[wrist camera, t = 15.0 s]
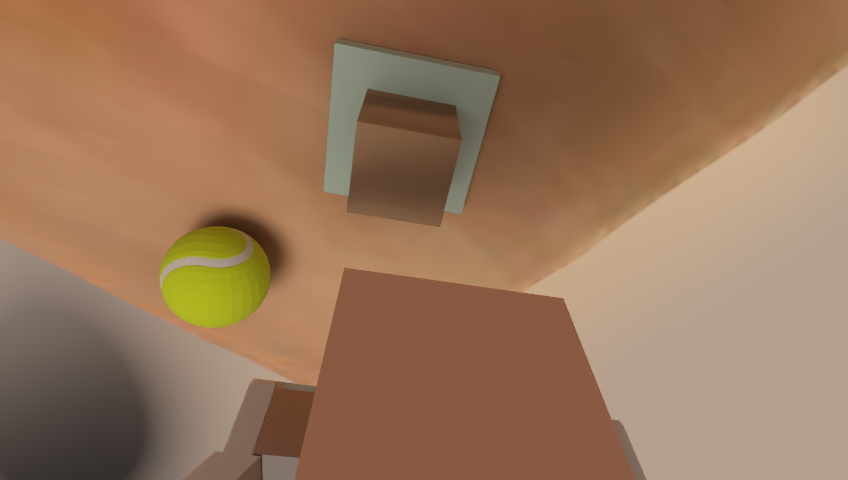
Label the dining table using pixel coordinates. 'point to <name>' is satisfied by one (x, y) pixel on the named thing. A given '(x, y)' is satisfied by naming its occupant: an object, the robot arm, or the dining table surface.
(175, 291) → the tennis ball
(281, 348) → the dining table surface
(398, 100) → the walnut cube
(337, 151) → the board
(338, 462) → the terracotta cube
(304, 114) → the dining table surface
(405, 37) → the dining table surface
